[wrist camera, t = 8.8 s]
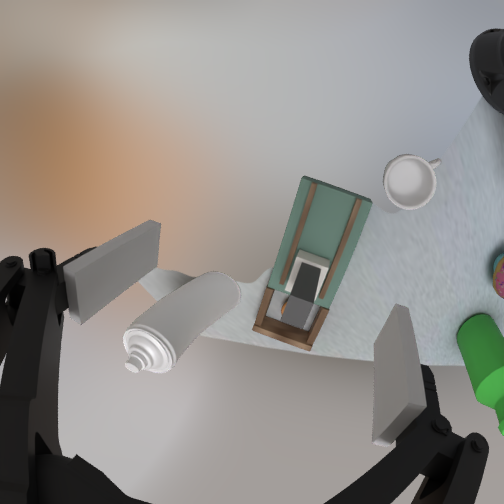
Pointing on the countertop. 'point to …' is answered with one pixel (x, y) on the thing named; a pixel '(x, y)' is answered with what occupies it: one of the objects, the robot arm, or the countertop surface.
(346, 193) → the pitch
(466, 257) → the countertop surface
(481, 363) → the bottle
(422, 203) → the teacup
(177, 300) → the spray can
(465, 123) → the countertop surface
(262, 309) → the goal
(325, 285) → the rails
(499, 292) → the cupcake
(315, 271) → the block
